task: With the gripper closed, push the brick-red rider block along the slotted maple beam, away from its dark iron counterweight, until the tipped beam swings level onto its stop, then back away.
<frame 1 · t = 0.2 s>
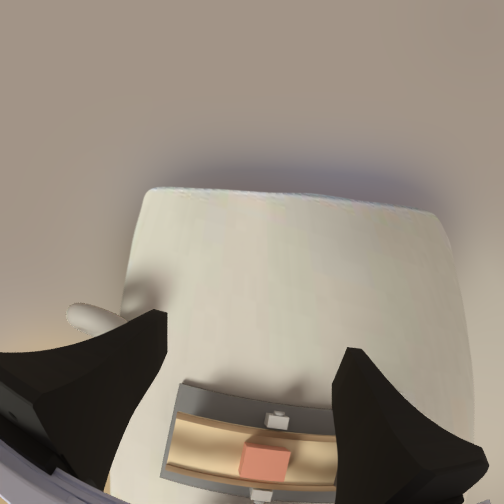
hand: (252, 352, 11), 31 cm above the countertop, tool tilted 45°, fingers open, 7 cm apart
rider: (261, 459, 29), point 6 cm above the countertop, touching beam
beam: (271, 462, 28), point 6 cm above the countertop, hinge at 4.0°, touching rider
donut: (112, 332, 41), on the countertop
tilt stand: (265, 452, 34), on the countertop
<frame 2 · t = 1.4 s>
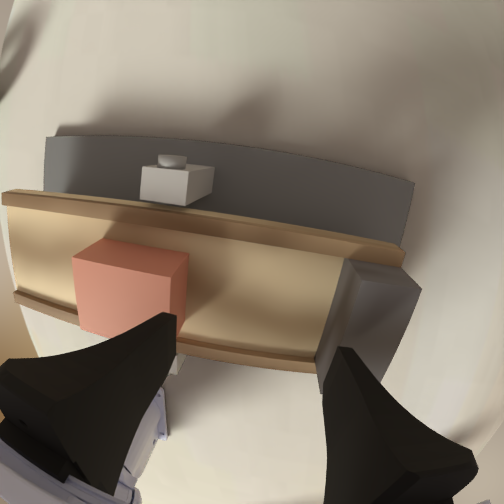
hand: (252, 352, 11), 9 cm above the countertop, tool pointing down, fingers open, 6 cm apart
rider: (142, 280, 15), point 6 cm above the countertop, touching beam
beam: (153, 292, 14), point 6 cm above the countertop, hinge at 4.0°, touching rider
tilt stand: (191, 251, 20), on the countertop
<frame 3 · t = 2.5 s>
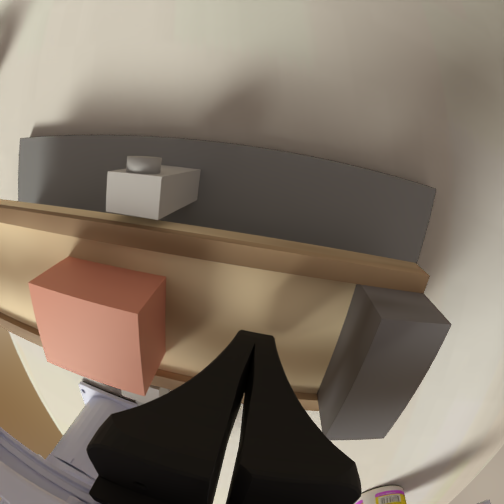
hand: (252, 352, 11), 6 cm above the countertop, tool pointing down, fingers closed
rider: (115, 306, 12), point 6 cm above the countertop, touching beam
beam: (126, 322, 11), point 6 cm above the countertop, hinge at 4.0°, touching rider
tilt stand: (176, 266, 17), on the countertop
supplement bottle: (378, 493, 25), on the countertop
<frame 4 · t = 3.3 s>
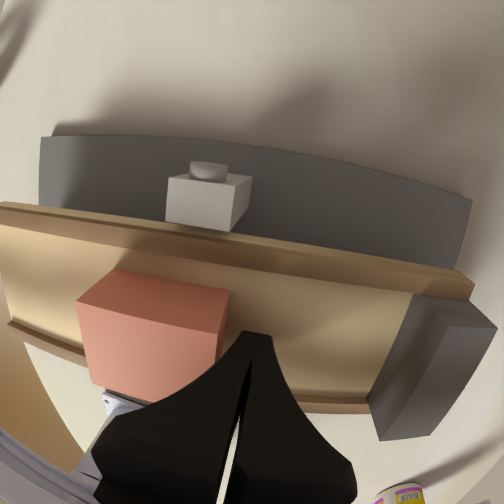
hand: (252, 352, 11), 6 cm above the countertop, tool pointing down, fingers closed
rider: (167, 320, 12), point 6 cm above the countertop, touching gripper
beam: (185, 339, 11), point 6 cm above the countertop, hinge at 4.0°
tilt stand: (219, 275, 17), on the countertop
supplement bottle: (396, 491, 25), on the countertop
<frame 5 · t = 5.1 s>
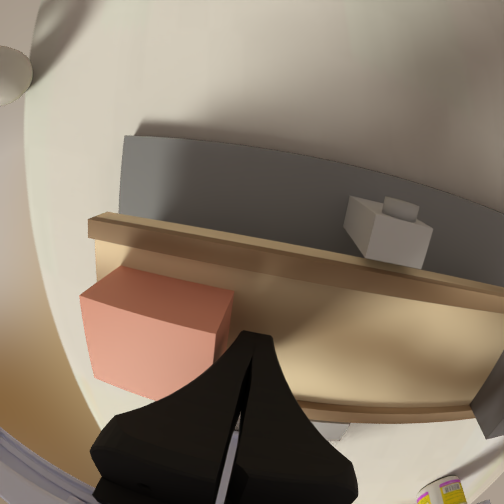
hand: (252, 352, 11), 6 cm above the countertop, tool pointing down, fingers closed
rider: (172, 319, 12), point 5 cm above the countertop, touching beam, gripper
beam: (361, 370, 11), point 6 cm above the countertop, hinge at -0.3°, touching rider
donut: (21, 86, 15), on the countertop
tilt stand: (341, 298, 17), on the countertop
supplement bottle: (437, 484, 24), on the countertop
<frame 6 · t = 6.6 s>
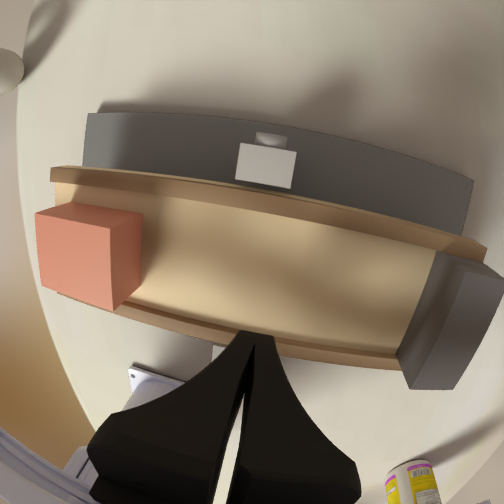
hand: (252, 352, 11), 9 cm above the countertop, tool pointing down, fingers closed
rider: (103, 242, 15), point 5 cm above the countertop, touching beam
beam: (244, 283, 13), point 6 cm above the countertop, hinge at -0.3°, touching rider
donut: (15, 80, 17), on the countertop
tilt stand: (259, 241, 19), on the countertop
supplement bottle: (407, 469, 27), on the countertop
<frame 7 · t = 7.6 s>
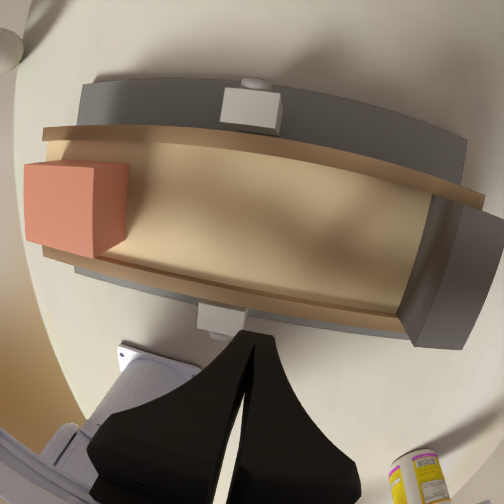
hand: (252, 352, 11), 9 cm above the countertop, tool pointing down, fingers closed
rider: (89, 197, 14), point 5 cm above the countertop, touching beam
beam: (229, 226, 13), point 6 cm above the countertop, hinge at -0.3°, touching rider
donut: (15, 61, 17), on the countertop
tilt stand: (249, 202, 19), on the countertop
supplement bottle: (411, 459, 26), on the countertop
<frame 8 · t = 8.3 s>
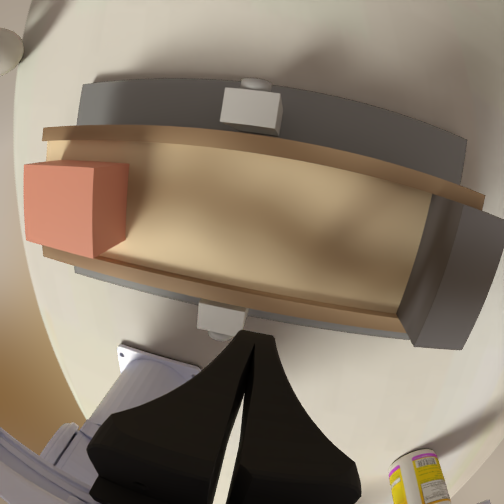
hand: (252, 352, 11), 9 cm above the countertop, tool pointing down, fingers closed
rider: (89, 197, 14), point 5 cm above the countertop, touching beam
beam: (229, 226, 13), point 6 cm above the countertop, hinge at -0.3°, touching rider
donut: (15, 61, 17), on the countertop
tilt stand: (249, 202, 19), on the countertop
supplement bottle: (411, 459, 26), on the countertop
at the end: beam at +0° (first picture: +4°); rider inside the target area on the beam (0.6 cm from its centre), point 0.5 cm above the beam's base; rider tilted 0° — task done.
